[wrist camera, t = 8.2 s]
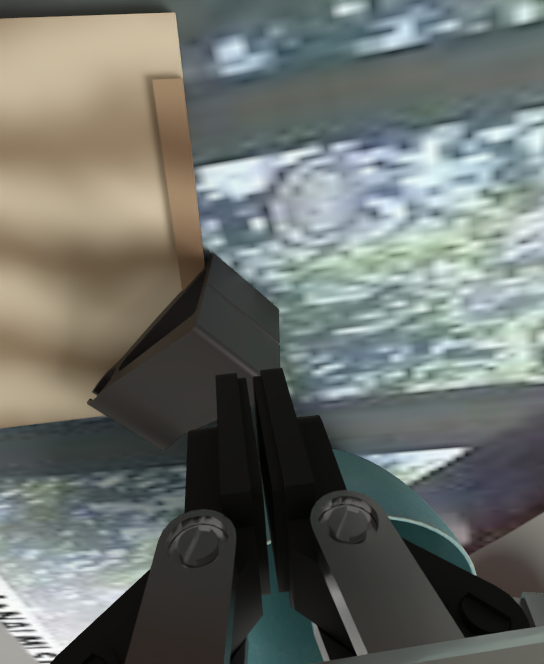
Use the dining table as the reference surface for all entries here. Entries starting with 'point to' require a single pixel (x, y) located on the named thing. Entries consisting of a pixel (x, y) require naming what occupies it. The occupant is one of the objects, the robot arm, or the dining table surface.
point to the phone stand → (191, 357)
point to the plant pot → (411, 524)
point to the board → (88, 202)
